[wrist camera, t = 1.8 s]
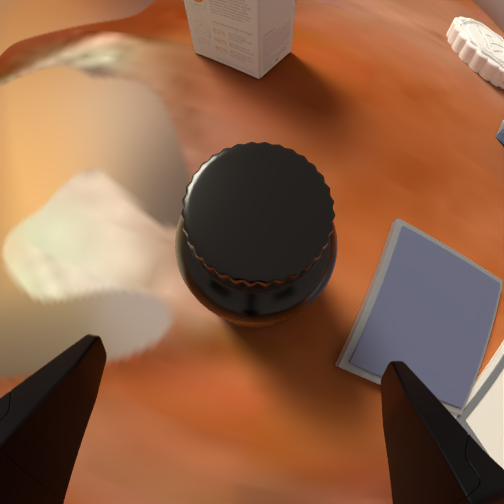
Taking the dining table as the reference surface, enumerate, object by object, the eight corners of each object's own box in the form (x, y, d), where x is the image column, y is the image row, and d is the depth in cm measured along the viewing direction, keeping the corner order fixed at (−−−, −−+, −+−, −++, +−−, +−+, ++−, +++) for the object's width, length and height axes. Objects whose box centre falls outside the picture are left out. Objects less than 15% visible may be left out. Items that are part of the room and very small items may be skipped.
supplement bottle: (188, 307, 21) (110, 268, 9) (225, 214, 22) (198, 96, 11) (287, 343, 20) (330, 351, 9) (320, 246, 22) (382, 152, 10)
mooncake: (524, 103, 27) (538, 89, 23) (457, 70, 28) (469, 51, 24) (499, 50, 30) (509, 35, 26) (437, 20, 31) (445, 3, 27)
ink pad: (454, 413, 18) (463, 416, 17) (334, 365, 20) (339, 366, 18) (495, 283, 21) (505, 280, 20) (392, 222, 22) (399, 216, 21)
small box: (292, 52, 27) (302, -37, 17) (259, 82, 26) (259, -17, 16) (228, 27, 28) (221, -54, 18) (192, 53, 27) (175, -34, 17)
